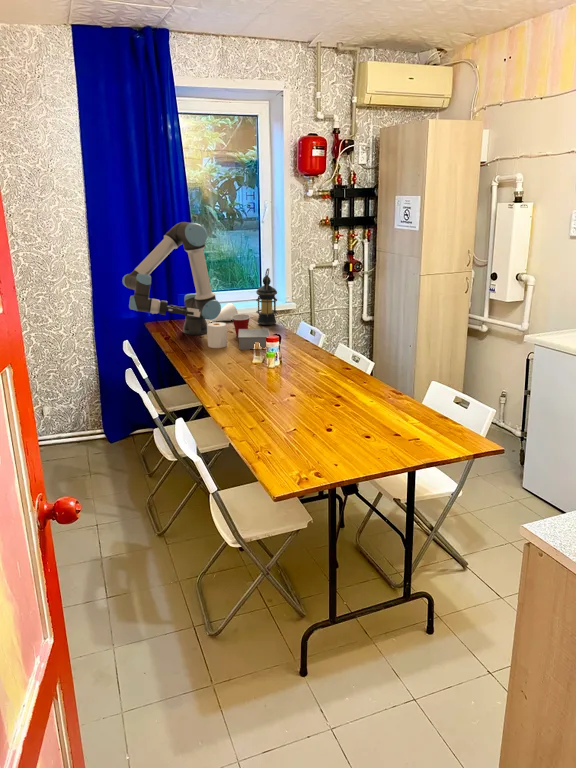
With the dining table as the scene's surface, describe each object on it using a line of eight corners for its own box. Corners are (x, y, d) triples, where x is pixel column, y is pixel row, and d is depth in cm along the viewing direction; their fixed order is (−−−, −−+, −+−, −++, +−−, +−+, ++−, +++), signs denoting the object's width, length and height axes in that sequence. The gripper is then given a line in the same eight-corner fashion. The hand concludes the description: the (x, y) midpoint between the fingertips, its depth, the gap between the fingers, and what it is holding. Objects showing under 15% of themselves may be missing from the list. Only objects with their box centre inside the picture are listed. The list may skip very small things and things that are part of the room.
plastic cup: (228, 337, 344) (228, 317, 340) (237, 333, 353) (236, 313, 350) (245, 339, 340) (245, 318, 336) (253, 335, 350) (253, 315, 346)
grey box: (238, 341, 337) (238, 329, 334) (268, 340, 338) (268, 328, 335) (238, 349, 319) (238, 337, 317) (269, 349, 320) (269, 336, 318)
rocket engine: (207, 309, 373) (230, 299, 382) (202, 318, 383) (225, 308, 392) (217, 324, 371) (240, 314, 381) (212, 332, 381) (234, 322, 391)
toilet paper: (219, 349, 320) (218, 327, 316) (204, 346, 325) (203, 324, 322) (230, 345, 328) (230, 323, 325) (215, 342, 334) (215, 321, 330)
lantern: (255, 322, 382) (255, 266, 371) (276, 321, 383) (276, 266, 372) (257, 327, 369) (256, 270, 357) (278, 326, 370) (278, 269, 359)
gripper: (158, 311, 329) (197, 317, 334) (158, 316, 305) (199, 322, 310) (160, 298, 328) (199, 304, 333) (159, 301, 304) (201, 308, 309)
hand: (199, 313), depth 321 cm, fingers open, 13 cm apart
